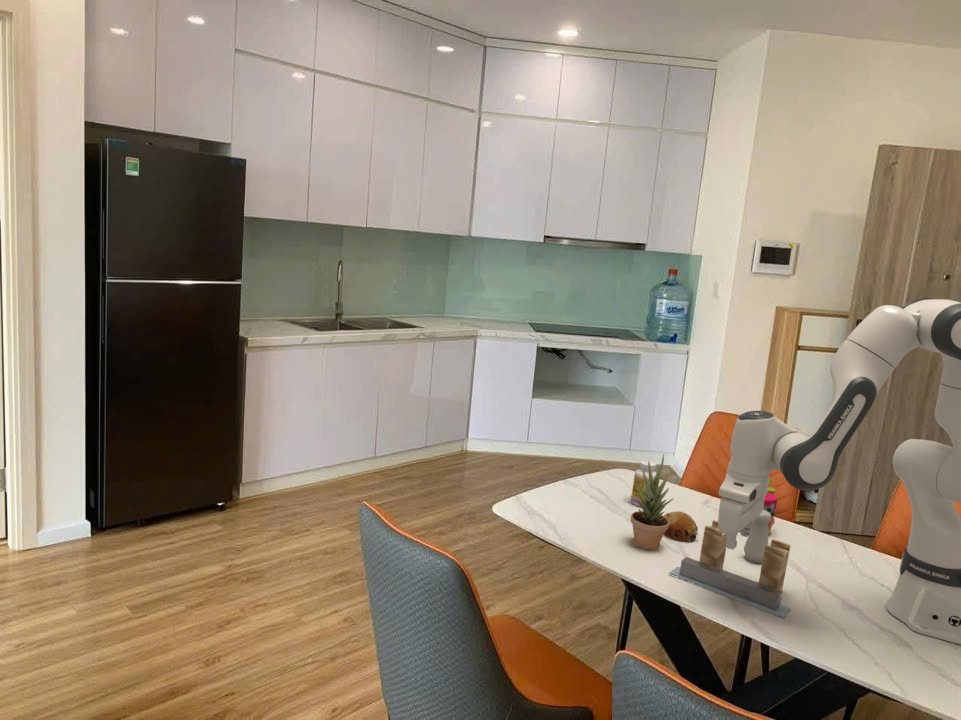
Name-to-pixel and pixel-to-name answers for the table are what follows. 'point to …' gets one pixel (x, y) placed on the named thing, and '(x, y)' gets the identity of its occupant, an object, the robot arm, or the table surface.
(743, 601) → the grey flat bar
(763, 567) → the stand near
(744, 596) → the bar
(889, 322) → the robot arm
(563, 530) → the table surface
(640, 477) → the supplement bottle
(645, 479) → the potted plant
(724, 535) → the stand far
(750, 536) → the salt shaker
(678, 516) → the bread roll
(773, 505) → the cake
